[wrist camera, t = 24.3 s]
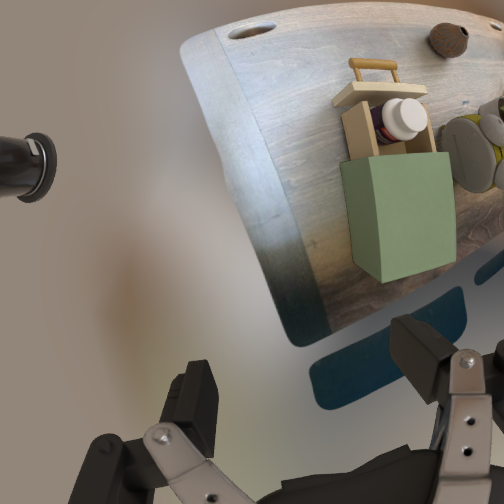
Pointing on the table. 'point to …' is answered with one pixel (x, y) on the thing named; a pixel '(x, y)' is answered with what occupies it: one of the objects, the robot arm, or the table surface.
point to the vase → (449, 39)
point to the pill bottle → (398, 120)
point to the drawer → (376, 94)
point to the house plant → (493, 108)
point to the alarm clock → (475, 151)
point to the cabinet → (400, 213)
